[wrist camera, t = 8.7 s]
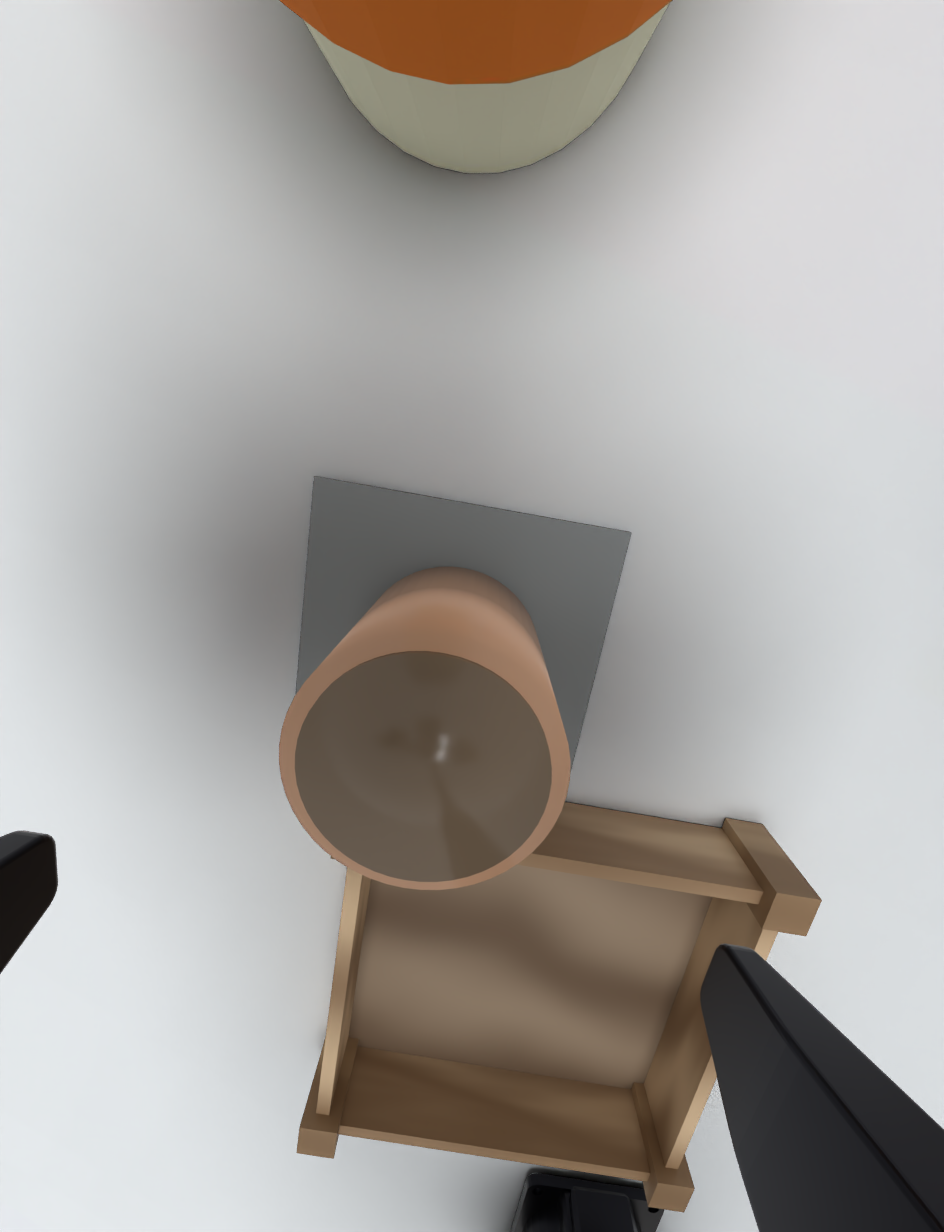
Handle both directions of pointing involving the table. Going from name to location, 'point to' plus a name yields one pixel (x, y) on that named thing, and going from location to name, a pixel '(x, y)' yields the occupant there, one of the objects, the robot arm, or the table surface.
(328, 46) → the reusable coffee cup
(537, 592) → the slate mat
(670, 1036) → the brown wooden tray
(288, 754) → the terracotta pot
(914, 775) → the table surface
